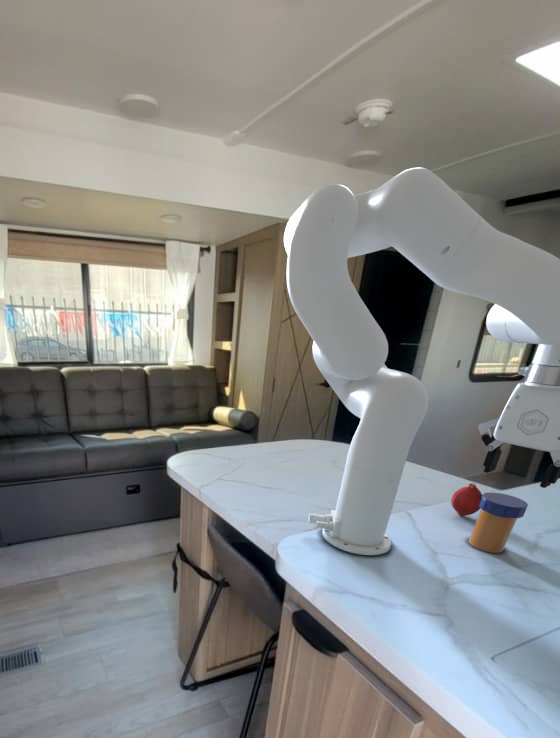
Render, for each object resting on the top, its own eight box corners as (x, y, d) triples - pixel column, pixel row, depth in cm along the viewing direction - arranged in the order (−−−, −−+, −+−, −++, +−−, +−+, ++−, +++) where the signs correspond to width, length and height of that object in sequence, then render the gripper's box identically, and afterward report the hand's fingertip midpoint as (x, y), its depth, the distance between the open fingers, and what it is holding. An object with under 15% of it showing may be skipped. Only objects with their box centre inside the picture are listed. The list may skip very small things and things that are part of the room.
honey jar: (476, 551, 77) (494, 506, 73) (463, 537, 82) (480, 494, 78) (508, 554, 76) (529, 509, 72) (494, 540, 81) (512, 497, 77)
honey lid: (488, 516, 74) (493, 505, 73) (472, 501, 80) (476, 490, 79) (531, 520, 72) (536, 509, 72) (511, 504, 79) (515, 494, 78)
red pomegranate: (453, 508, 95) (465, 476, 92) (481, 517, 91) (494, 484, 87) (441, 513, 92) (453, 481, 89) (469, 524, 88) (482, 490, 84)
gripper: (486, 372, 70) (454, 468, 78) (624, 386, 57) (569, 499, 65) (504, 370, 74) (472, 461, 82) (638, 382, 61) (585, 490, 69)
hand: (515, 477), depth 73 cm, fingers open, 8 cm apart
